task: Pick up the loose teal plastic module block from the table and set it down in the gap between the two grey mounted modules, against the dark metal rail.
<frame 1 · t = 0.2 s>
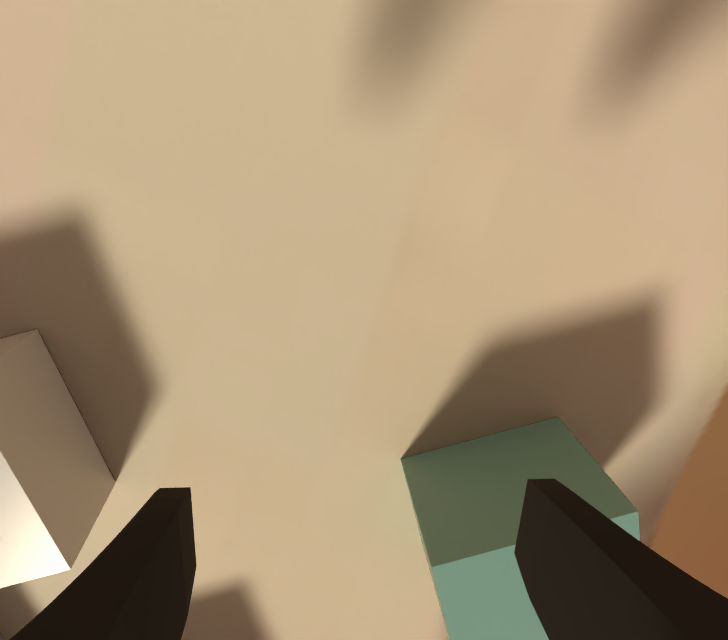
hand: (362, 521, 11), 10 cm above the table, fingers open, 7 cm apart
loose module: (487, 482, 24), on the table
rail mount: (73, 595, 24), on the table
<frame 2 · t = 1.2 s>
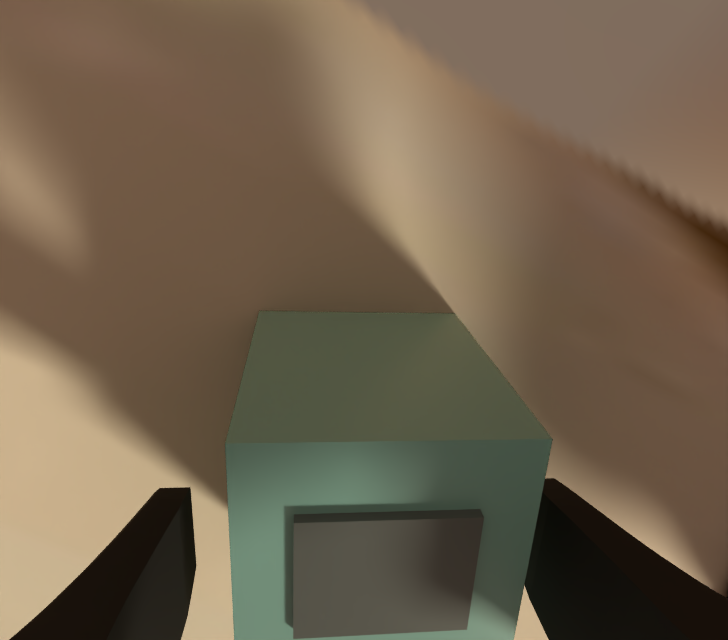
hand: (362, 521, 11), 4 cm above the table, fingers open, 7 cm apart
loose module: (353, 430, 15), on the table
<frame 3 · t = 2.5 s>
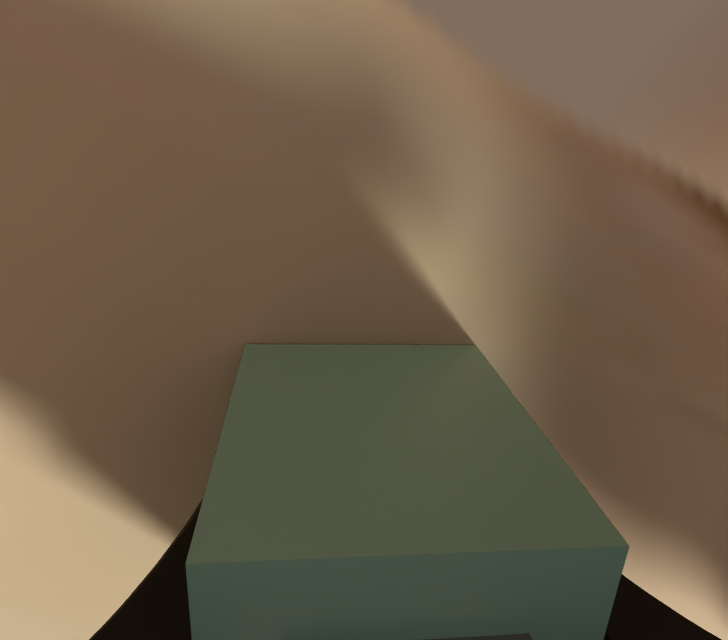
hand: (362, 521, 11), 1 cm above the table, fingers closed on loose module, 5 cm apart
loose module: (356, 480, 13), on the table, touching gripper
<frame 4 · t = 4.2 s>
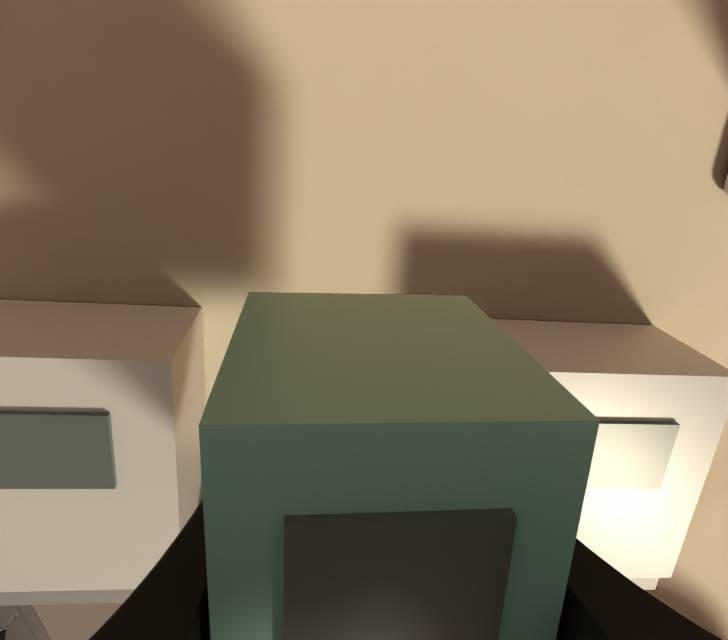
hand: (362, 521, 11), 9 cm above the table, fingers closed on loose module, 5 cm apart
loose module: (354, 429, 13), point 7 cm above the table, touching gripper
rail mount: (337, 410, 21), on the table
electrical switch: (21, 626, 23), on the table
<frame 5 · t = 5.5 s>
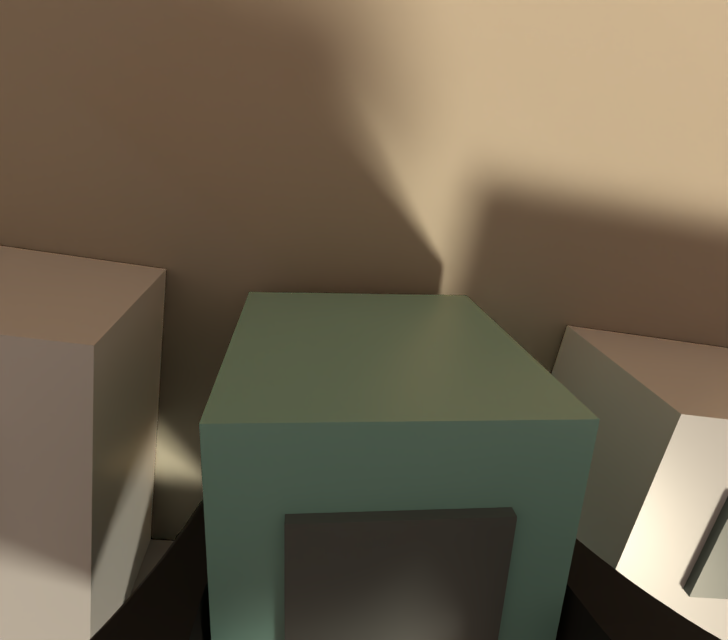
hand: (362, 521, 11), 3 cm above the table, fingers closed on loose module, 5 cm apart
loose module: (354, 429, 13), point 1 cm above the table, touching gripper
rail mount: (351, 439, 14), on the table
when the fingers open (3 cm above the table, at t = 6.4 s): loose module stays where it is, on the table.
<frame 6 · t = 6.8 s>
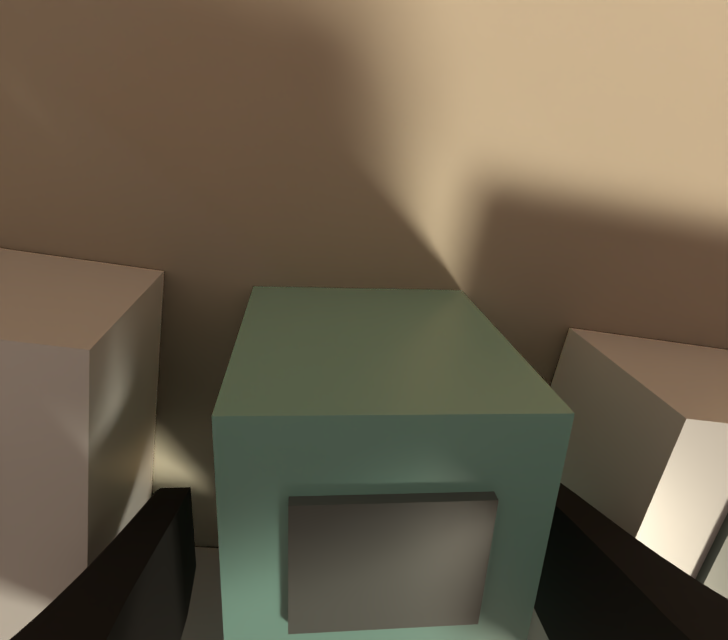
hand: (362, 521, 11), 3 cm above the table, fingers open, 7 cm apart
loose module: (353, 414, 14), on the table
rail mount: (351, 442, 14), on the table
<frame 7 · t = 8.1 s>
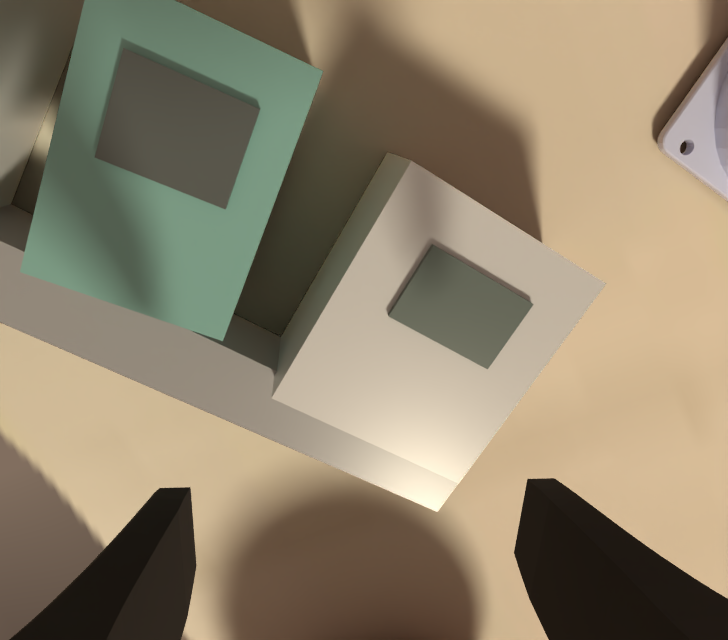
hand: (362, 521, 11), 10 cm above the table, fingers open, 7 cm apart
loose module: (209, 158, 18), on the table
rail mount: (201, 180, 18), on the table
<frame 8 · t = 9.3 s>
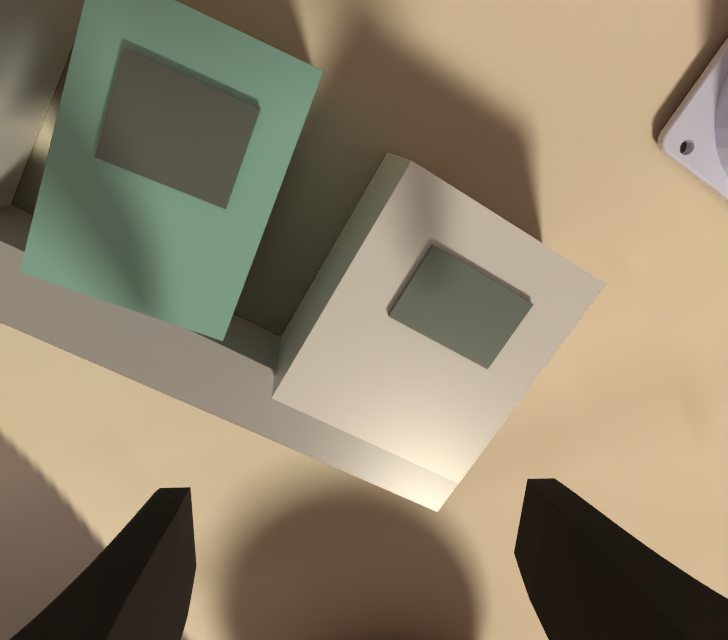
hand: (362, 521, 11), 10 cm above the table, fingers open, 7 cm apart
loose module: (209, 158, 18), on the table
rail mount: (201, 180, 18), on the table
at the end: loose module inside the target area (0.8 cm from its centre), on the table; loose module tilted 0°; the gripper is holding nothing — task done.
